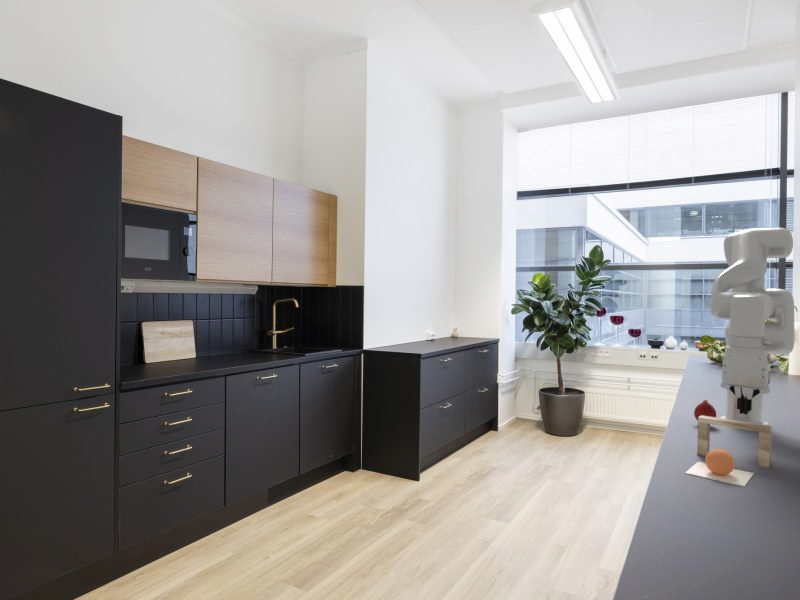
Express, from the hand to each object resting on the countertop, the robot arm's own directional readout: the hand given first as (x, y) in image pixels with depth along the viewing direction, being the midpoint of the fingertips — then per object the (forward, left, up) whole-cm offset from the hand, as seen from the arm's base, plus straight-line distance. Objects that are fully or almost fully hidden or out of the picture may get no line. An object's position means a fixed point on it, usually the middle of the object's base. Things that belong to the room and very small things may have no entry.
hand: (744, 412), depth 138 cm
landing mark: (+28, 0, -9) cm, 30 cm away
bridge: (+14, 0, -9) cm, 17 cm away
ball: (+29, 0, -6) cm, 30 cm away
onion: (-19, -13, -9) cm, 24 cm away
